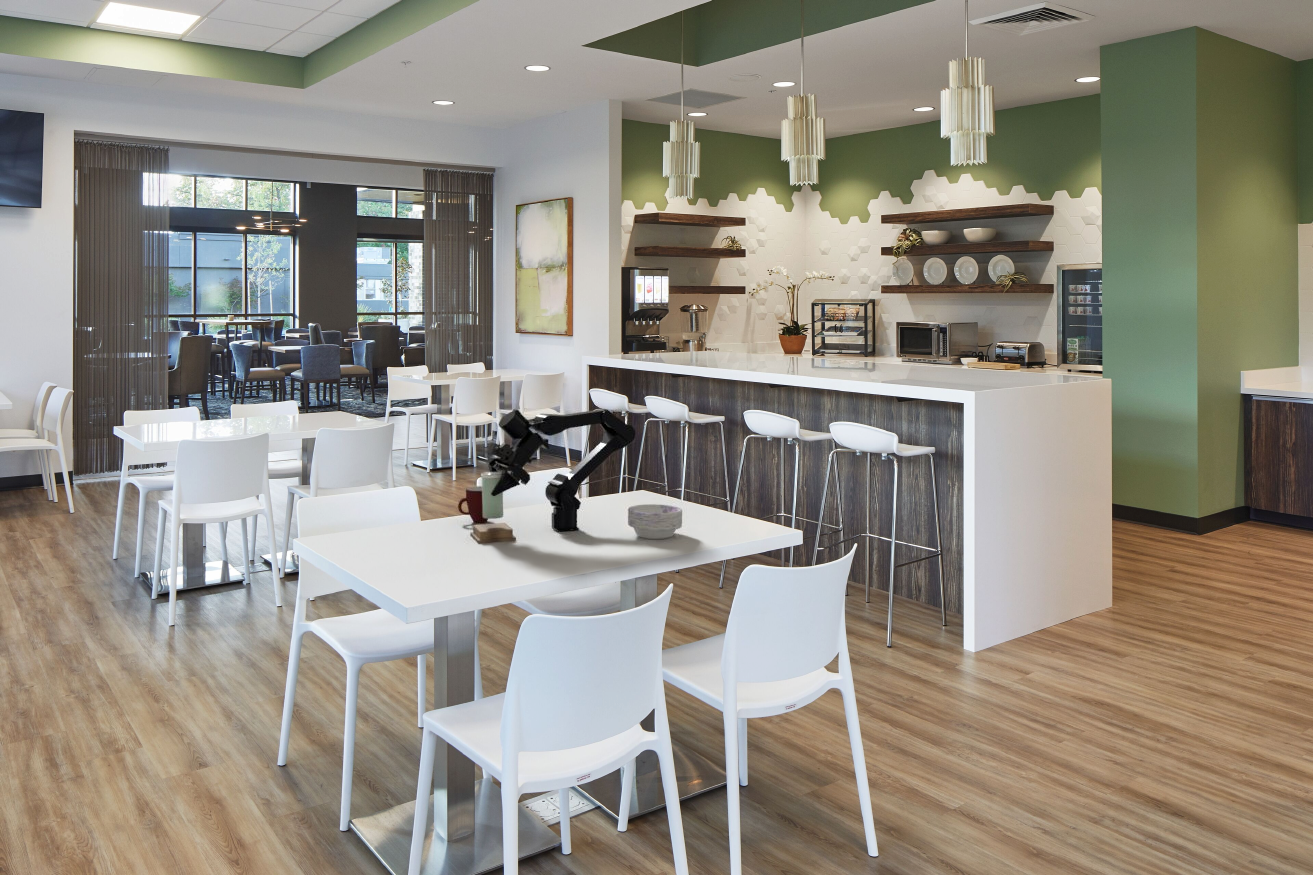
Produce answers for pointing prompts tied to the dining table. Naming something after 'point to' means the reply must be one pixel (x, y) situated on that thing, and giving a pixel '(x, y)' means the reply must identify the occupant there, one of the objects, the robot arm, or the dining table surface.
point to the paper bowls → (654, 520)
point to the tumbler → (489, 502)
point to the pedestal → (492, 533)
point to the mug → (473, 504)
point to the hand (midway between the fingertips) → (487, 493)
